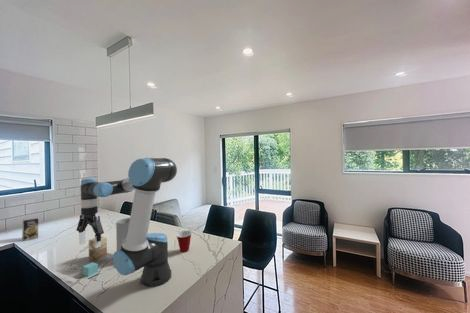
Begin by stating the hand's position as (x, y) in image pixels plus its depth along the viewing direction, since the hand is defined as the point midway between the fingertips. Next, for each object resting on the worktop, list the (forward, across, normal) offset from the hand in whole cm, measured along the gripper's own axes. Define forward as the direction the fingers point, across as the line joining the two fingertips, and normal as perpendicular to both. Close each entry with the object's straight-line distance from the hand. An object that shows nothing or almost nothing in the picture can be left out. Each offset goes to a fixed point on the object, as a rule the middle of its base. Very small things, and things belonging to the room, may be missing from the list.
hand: (90, 245), depth 116 cm
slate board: (+16, +14, -12) cm, 25 cm away
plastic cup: (+17, -27, -46) cm, 56 cm away
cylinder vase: (+17, -3, -21) cm, 27 cm away
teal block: (+17, 0, 0) cm, 17 cm away
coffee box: (+16, +111, -17) cm, 114 cm away
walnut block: (+15, +16, -14) cm, 26 cm away
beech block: (+9, +16, -14) cm, 23 cm away
